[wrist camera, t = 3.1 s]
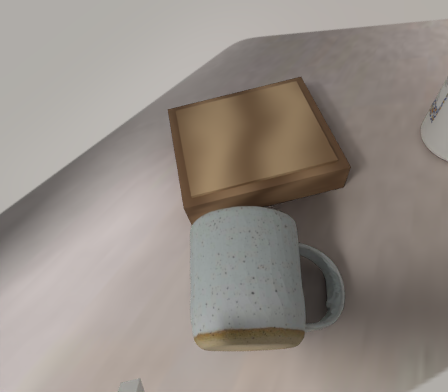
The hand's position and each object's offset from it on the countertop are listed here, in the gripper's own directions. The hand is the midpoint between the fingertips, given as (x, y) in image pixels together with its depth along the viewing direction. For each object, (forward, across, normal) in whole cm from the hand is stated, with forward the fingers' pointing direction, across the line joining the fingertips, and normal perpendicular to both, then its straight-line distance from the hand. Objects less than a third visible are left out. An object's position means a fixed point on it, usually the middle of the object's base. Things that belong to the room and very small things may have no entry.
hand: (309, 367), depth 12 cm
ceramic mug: (+12, 0, -3) cm, 12 cm away
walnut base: (+21, +2, +6) cm, 22 cm away
